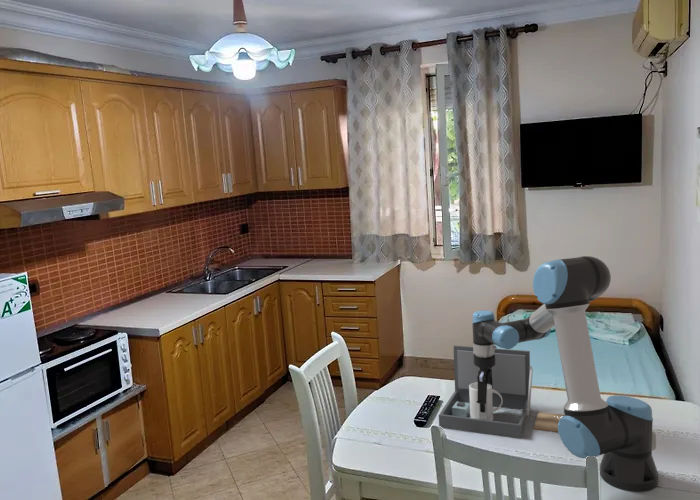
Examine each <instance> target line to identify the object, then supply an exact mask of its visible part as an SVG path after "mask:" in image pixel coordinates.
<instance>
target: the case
mask: <svg viewBox="0 0 700 500" xmlns="http://www.w3.org/2000/svg"><path fill="white" fill-rule="evenodd" d="M494 355H495V365H494V366H493V367H492V382H493V390H496V391H497V392H499V393H500V395H501V396H502V399H503V403H502V406H501V407H500V408H505V409H511V410H512V409H514V410H520V409H523V410H522V412H521V415H520V418H519V421H518V423H514V422H513V423H512V422H507V421H498V420H492V421H491V420H483V419H475V418H470V417H459V416H452V407H453V406H454V404H455V403H456V402H457V401H458V402H466V403H470V396H469V385H470V384H472V383H475V382H478V379H477V376H478V371H480V368H479V367H477V366H475V365H474V353H473V346H470V345H468V346H467V345H455V344H454V345H453V370H454V372H453V373H454V375H453V376H454V392H453V393H452V395H451V396H450V398H449V399H448V401H447V402H446V404H445V405H444V407H443V408H442V409H441V411H440V412H439V414H438V427H439V426H441V427H443V428H442V429H450V430H456V431H464V432H470V433H471V432H472V433H478V434H479V433H480V434H487V435H492V436H501V437H508V438H517V439H522V436H523V434H524V431H525V428H526V425H527V421H528V418H529V415H530V413H531V409H532V408H531V406H532V405H531V403H532V402H531V400H532V387H533V384H532V383H533V370H534V369H533V366H532V365H531V356H530V355H531V351H530V350H524V349H523V350H520V349H505V348H498V347H497V348H496V349H495V354H494ZM492 402H493V408H497V407H499V406H500V404H501V398H500V396H499V395H498V394H496V393H492ZM441 427H440V428H441Z"/></svg>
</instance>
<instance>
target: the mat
mask: <svg viewBox="0 0 700 500" xmlns="http://www.w3.org/2000/svg"><path fill="white" fill-rule="evenodd" d="M554 416H555V417H554ZM557 416H558V418H559V419H558V418H557ZM561 416H565V414H561V413H551V412H545V411H544V412H543V411H538V412H537V415H536V418H535V422H534V424H533V425H534V426H533V430H536V431H543V432H545V431H546V432H551V431H552V433H558V434H559V432H558V423H559V420H560V419H561V418H560V417H561Z"/></svg>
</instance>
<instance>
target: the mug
mask: <svg viewBox="0 0 700 500" xmlns="http://www.w3.org/2000/svg"><path fill="white" fill-rule="evenodd" d="M492 393H496V394H498V395H499V396H500V398H501V404H500V406H499V407H494V406H493V402H492ZM469 396H470V414H469V416H468V418H475V419H479V403H477V402H476V401H478V382H475V383H472V384H470V385H469ZM486 402H487V420H491V421H494V412H495V411H498V410H500V408H502V407H501V406H502V403H503V399H502V396H501V395H500V393H499V392H497V391H496V390H493V389H492V385H491V384H487V396H486Z"/></svg>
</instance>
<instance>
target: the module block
mask: <svg viewBox="0 0 700 500" xmlns="http://www.w3.org/2000/svg"><path fill="white" fill-rule="evenodd" d="M451 415H452V416H459V417H467V418H469V416H470V403H466V402H458V401H457V402H456V403H455V404H454V406H453V407H452V412H451Z"/></svg>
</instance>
